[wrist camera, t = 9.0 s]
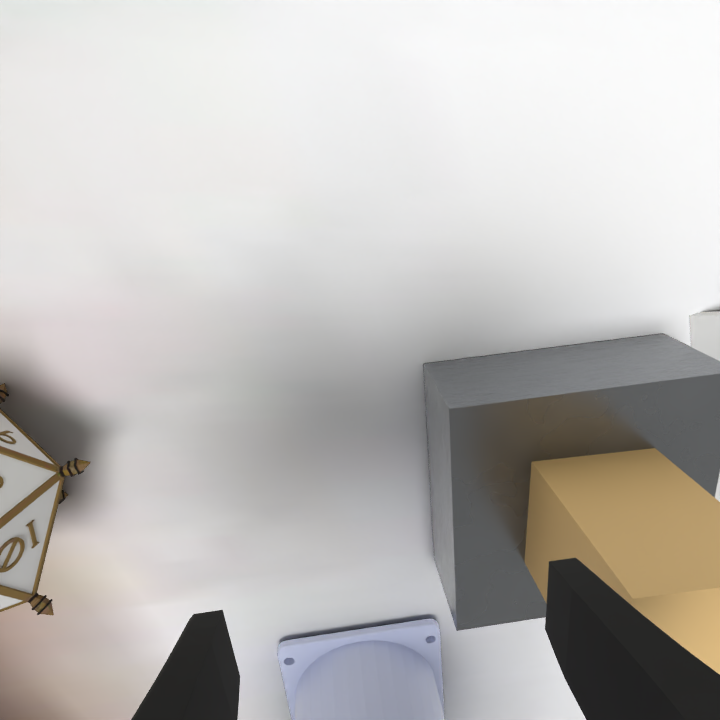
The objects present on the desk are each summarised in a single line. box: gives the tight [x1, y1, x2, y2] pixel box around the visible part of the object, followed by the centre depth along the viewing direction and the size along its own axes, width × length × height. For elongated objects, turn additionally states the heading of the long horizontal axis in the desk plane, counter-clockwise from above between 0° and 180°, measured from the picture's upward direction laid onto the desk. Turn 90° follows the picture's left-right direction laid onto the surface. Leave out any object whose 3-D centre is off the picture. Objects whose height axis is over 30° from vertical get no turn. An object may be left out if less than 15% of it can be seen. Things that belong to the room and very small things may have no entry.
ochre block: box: [525, 448, 720, 674], centre depth 16 cm, size 4×4×6 cm
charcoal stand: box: [424, 334, 720, 631], centre depth 21 cm, size 10×10×4 cm
